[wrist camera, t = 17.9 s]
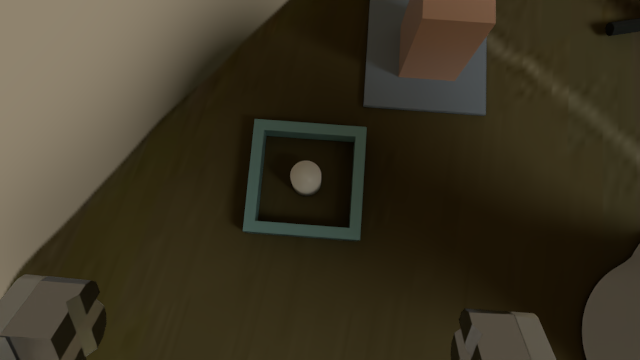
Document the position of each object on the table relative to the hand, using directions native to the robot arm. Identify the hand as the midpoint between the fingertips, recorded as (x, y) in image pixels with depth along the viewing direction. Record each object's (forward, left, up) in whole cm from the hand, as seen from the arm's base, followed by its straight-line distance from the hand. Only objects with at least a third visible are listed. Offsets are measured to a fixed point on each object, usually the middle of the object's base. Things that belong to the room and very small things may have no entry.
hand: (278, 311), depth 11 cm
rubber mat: (-10, -23, -33) cm, 42 cm away
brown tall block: (-10, -23, -33) cm, 42 cm away
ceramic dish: (+1, -9, -33) cm, 35 cm away
